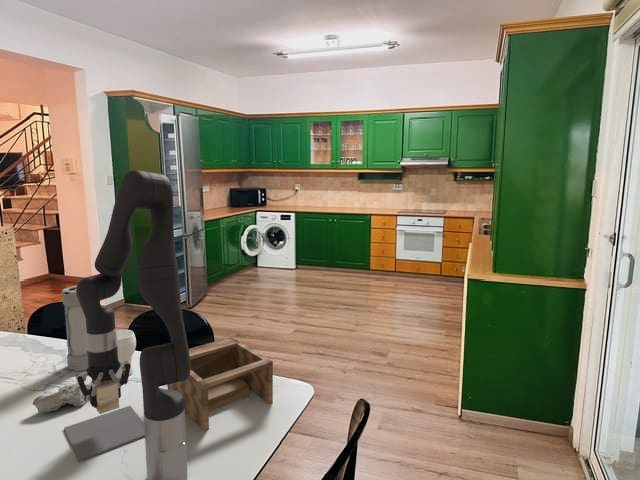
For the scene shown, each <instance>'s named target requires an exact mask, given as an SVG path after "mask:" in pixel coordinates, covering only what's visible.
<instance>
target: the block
mask: <svg viewBox="0 0 640 480" xmlns="http://www.w3.org/2000/svg"><path fill="white" fill-rule="evenodd" d="M96 397H97V407H96V408H95V409H96V410H97V412H98V414H99V415H103V414H106V413H109V412H112V411H115V410H118V409H120V398H119V395H118V384H117V383H116V382H113V381H112V380H109V381H104V382H102V383H100V385H99V387H97V388H96Z"/></svg>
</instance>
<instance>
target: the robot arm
mask: <svg viewBox="0 0 640 480" xmlns="http://www.w3.org/2000/svg"><path fill="white" fill-rule="evenodd" d="M136 209H140V210H149V212H150V232H149V235H148V237H147V239H146V241H145V243H144V244H143V247H142V249H141V251H140V253H139V256H138V258H137V262H136V274H137V282H138V290H139V293H140V295H141V297H142V298H143V299H144V300H145V302H146V303H147V304H148V305H149V307H151V309H153V310H154V312H155V313H156V314H157V315H158V316H159V318H160V319H161V320H162V323H164V325H165V326H166V328H167V330H168V333H169V336H170V341H171V342H169V343H164V344H158V345H153V346H148V347H144V348H143V349H142V350H141V352H140V355H139V371H140V378H141V379H140V380H141V388H142V403H143V405H142V406H143V423H144V427H145V437H144V443H145V465H146V466H145V467H146V479H147V480H188V458H187V457H188V456H187V455H188V454H187V453H188V451H187V428H186V425H187V424H186V412H185V399H184V396H183V395H182V394H181V393H180V392H178V391H175V390H169V389H168V388H162V387H163V386H167V385H168V384H172V383H176V382H180V381H184V380H186V379H188V377H189V376H190V370H191V365H190V355H189V349H190V348H189V345H188V339H187V334H186V328H185V322H184V317H183V311H182V310H183V309H182V299H181V298H182V297H181V287H180V285H181V284H180V276H179V268H178V267H179V265H178V260H177V254H176V253H177V252H176V244H175V243H176V242H175V232H174V231H175V230H174V192H173V186H172V183H171V181H170V179H169V178H168V176H166V175H164V174H162V173H158V172H157V173H156V172H151V171H145V170H138V169H131V170H128V172H126V173H125V174H124V175H123V178H122V179H121V182H120V183H119V187H118V190H117V193H116V197H115V201H114V206H113V208H112V211H111V212H112V213H111V217H110V221H109V225H108V229H107V232H106V234H105V237H104V240H103V243H102V244H101V247H100V249H99V251H98V254H97V256H96V258H95V261H94V268H95V270H96V271H97V272H98V274H94V275H89V276H86V277H83V278H82V279H80V280H79V281H78V283H77V285H76V286H77V288H76V294H77V298H78V300H79V303H80V305H81V308H82V310H83V313H84V315H85V318H86V331H87V336H86V348H87V359H88V368H87V370H85V371H84V372H83V373H76V374H75V379H76V382H77V383H78V384H79V387H80V389H81V392H82V393H83V395H84V396H87V395H89V404H90V405H91V407H93V408H94V409H96V407H97V397H96V388H97V387H99V385H100V383H102V382H104V381H109V380H112V381H113V382H116V383H117V384H118V395H119V399H121V397H122V392H121V391H122V390H121V389H122V386H124V385H127V384H128V382H129V372H130V367H131V365H130V363H129V362H128V361H125V362H124V363H120V362H119V361H118V345H117V334H116V331H117V329H116V318H115V317H116V316H115V315H116V314H115V310H114V309H113V308H112V307H109V306H102V305H101V301H103V300H106V299H110V298H111V297H114V296H115V295H117V293H118V292H119V290H120V288H121V286H122V280H123V272H124V271H123V270H124V268H125V266H126V265H127V262H128V260H129V258H130V256H131V254H132V252H133V251H132V250H133V237H132V233H131V227H130V224H131V223H130V222H131V218H132V216H133V214H134V213H135V210H136ZM120 367H121V369H122V374H121V378H118V379H117V377H116V373H117V371H118V370H119V368H120ZM87 377H90V380H91V381H90V385H89V387H88V388H89V389H87V388H86V386H85V385H86V384H85V382H86V381H87Z"/></svg>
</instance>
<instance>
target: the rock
mask: <svg viewBox="0 0 640 480" xmlns="http://www.w3.org/2000/svg"><path fill="white" fill-rule="evenodd" d="M85 386H86V388H87V389H89V388H90V387H89V385H87V384H85ZM89 400H90V396H89V395H87V396H84V395H83V393H82V392H81V389H80V387H79V384H78V382H77V383H72V384H70V385H69V384H68V385H64V386H62V387H60V388H59V389H58V391H57V392H54V393H51V394H47V395H39V396H37V397H36V398H34V399H33V402H32V406H34V407H35V408H36V409H37V413H40V414H41V413H45V412H46V413H49V412H52V411H54V412H55V411H58V410H59V408H61V407H62V406H64V405H66V404H70V405H73V406H74V407H76V408H78V407H80V406H85V405H86V404H87V403H88V401H89Z"/></svg>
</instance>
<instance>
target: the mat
mask: <svg viewBox="0 0 640 480" xmlns="http://www.w3.org/2000/svg"><path fill="white" fill-rule="evenodd" d="M63 430H64V432H65V434H66V436H67V438H68V440H69V442H70V445H71V446H72V448H73V451H74V453H75V455H76V457H77V459H78V461H79V463H80V462H83V461H86V460H88V459H91V458H93V457H96V456H99V455H102V454H104V453H107V452H109V451H112V450H115V449H117V448H120V447H122V446H125V445H127V444H129V443H132V442H135V441H137V440H140V439H143V438H145V427H144V420H142V419H141V417H140V416H139V414H137V412H136V411H135V410H134V408H133V407H132V406H131V405H128V406H127V405H126V406H124V407H120V408H117V409H114V410H111V411H108V412H105V413H102V414H99V415H97V416H95V417H92V418H91V417H90V418H89V419H85V420H83V421H79V422H77V423H74V424H71V425H67V426H65V427H64V428H63Z"/></svg>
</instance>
